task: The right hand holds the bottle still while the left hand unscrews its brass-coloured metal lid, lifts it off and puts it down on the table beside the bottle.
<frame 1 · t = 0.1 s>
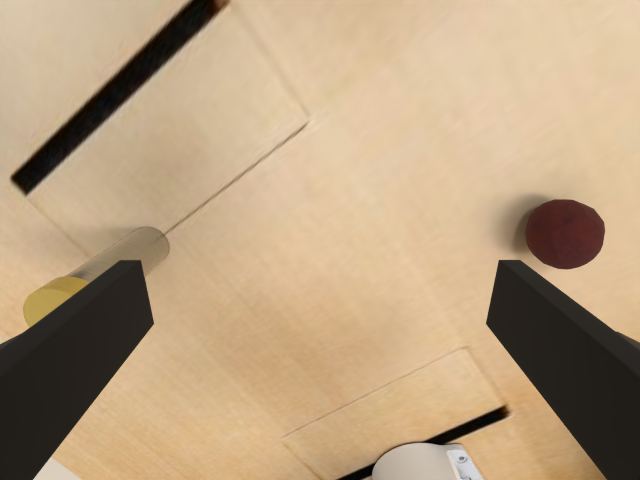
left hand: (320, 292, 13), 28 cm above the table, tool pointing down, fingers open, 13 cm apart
bottle: (149, 245, 42), on the table
dark red ball: (543, 222, 41), on the table
lid: (60, 315, 28), point 16 cm above the table, screwed on, not yet turned
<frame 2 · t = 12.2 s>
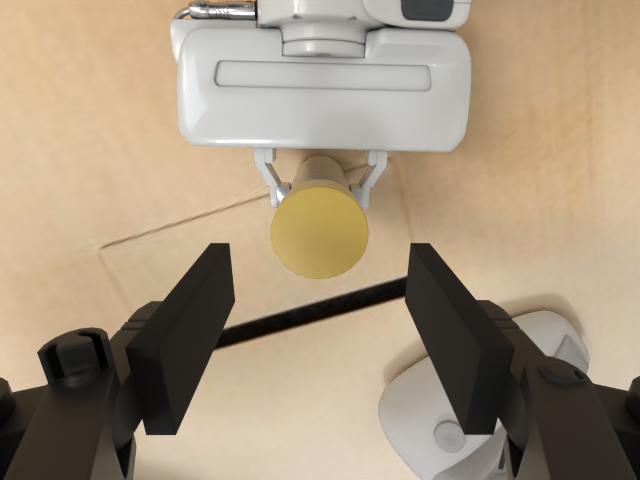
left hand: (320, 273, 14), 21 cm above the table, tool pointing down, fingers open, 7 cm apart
right hand: (320, 207, 27), fingers closed on bottle, 5 cm apart
bottle: (319, 179, 33), on the table, touching right hand
projector: (473, 371, 42), on the table
lid: (319, 233, 19), point 16 cm above the table, screwed on, not yet turned
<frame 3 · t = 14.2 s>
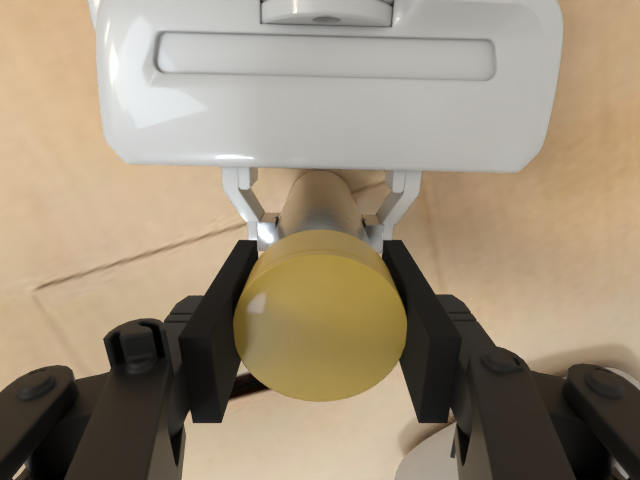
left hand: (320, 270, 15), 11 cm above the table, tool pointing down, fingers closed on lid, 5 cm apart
right hand: (320, 248, 19), fingers closed on bottle, 5 cm apart
bottle: (320, 202, 25), on the table, touching right hand
projector: (511, 436, 34), on the table
lid: (320, 328, 11), point 16 cm above the table, screwed on, not yet turned, touching left hand
when the left hand's fingers open (12 cm above the table, at t = 15.5 s): lid stays where it is, point 16 cm above the table.
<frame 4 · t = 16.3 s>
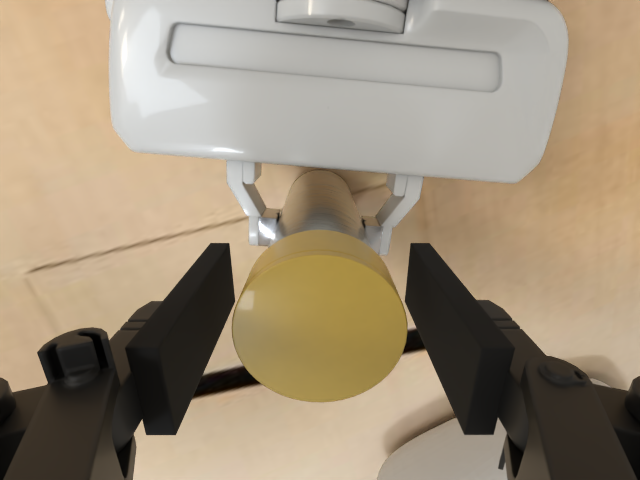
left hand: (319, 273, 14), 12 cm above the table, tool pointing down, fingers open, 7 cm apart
right hand: (319, 247, 19), fingers closed on bottle, 5 cm apart
bottle: (319, 201, 25), on the table, touching right hand
projector: (492, 441, 34), on the table
lid: (319, 328, 11), point 16 cm above the table, turned 98° so far, risen 0.3 cm, still on its thread
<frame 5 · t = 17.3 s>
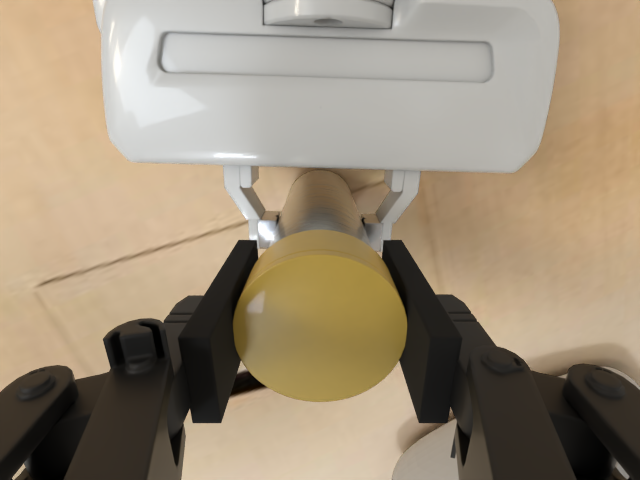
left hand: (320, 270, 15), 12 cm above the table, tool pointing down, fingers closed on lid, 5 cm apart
right hand: (320, 247, 19), fingers closed on bottle, 5 cm apart
bottle: (320, 201, 25), on the table, touching right hand
projector: (507, 434, 34), on the table
lid: (320, 328, 11), point 16 cm above the table, turned 98° so far, risen 0.3 cm, still on its thread, touching left hand
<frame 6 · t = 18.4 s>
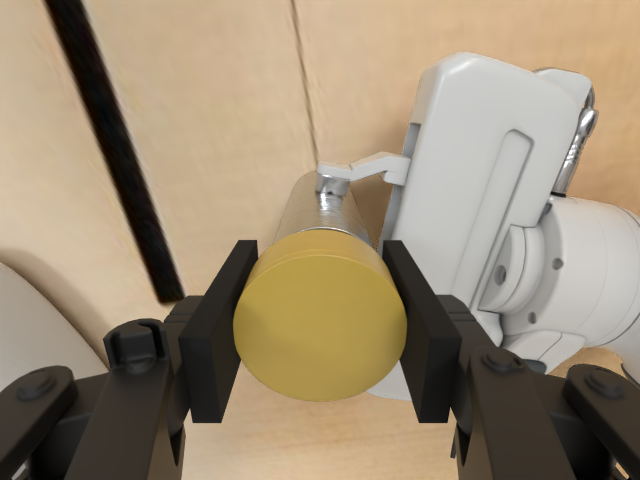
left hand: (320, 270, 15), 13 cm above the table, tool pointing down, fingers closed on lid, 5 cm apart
right hand: (306, 227, 20), fingers closed on bottle, 5 cm apart
bottle: (321, 200, 26), on the table, touching right hand
projector: (39, 358, 32), on the table
lid: (320, 328, 11), point 17 cm above the table, off its thread, touching left hand
when the left hand's fingers open (0 cm above the table, at t = 24.1 s): lid drops 3 cm, point 2 cm above the table.
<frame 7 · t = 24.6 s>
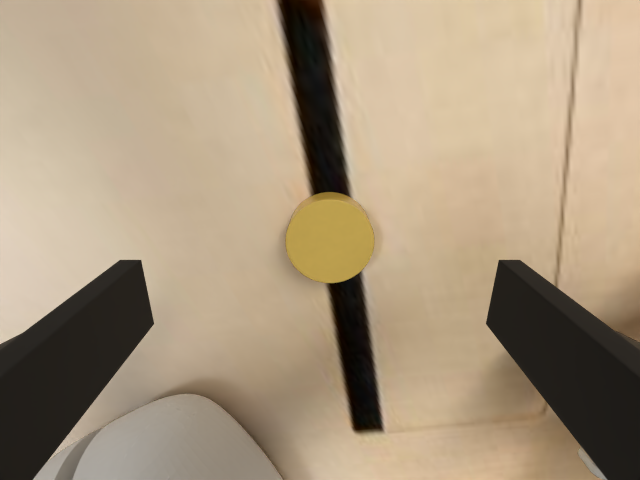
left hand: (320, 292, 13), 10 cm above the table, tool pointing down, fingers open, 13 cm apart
projector: (215, 479, 30), on the table
lid: (329, 241, 21), point 2 cm above the table, off its thread
when the right hand's fingers open (7 cm above the table, at t = 24.7 s): bottle stays where it is, on the table.
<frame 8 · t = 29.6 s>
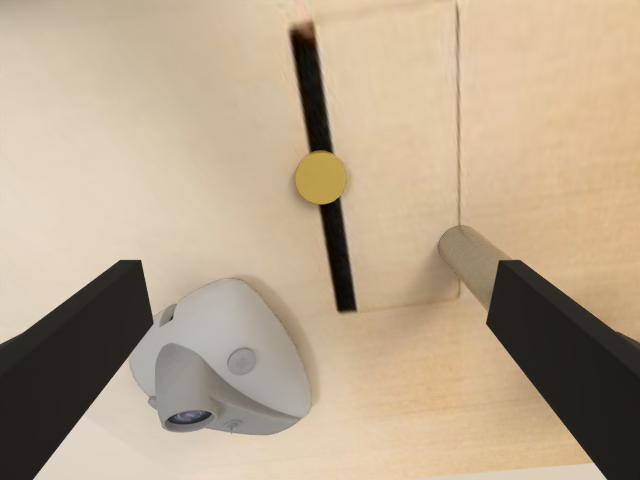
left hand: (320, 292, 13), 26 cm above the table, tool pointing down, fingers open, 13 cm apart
bottle: (458, 244, 40), on the table
projector: (246, 349, 46), on the table
lid: (320, 178, 36), point 2 cm above the table, off its thread
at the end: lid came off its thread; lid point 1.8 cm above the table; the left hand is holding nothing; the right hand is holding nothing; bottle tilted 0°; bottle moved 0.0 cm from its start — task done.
